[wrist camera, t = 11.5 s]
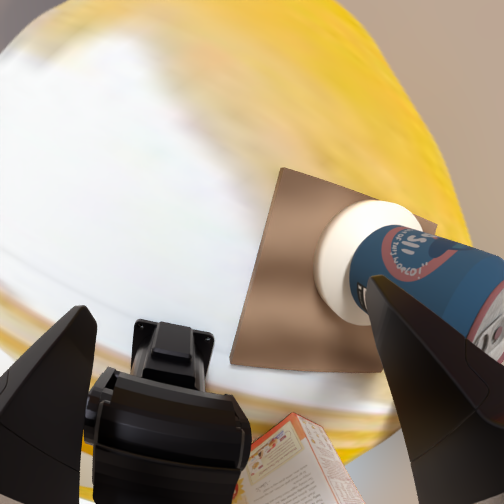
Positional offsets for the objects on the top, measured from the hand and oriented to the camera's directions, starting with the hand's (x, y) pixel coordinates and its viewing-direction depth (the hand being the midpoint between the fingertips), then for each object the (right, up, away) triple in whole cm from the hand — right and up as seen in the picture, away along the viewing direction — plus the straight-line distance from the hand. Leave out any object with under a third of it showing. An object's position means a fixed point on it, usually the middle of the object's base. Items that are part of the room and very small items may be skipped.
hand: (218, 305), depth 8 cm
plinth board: (+9, -2, +16) cm, 18 cm away
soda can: (+11, 0, +13) cm, 17 cm away
